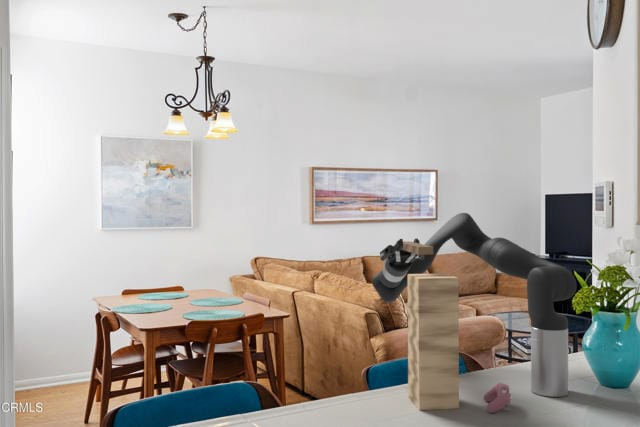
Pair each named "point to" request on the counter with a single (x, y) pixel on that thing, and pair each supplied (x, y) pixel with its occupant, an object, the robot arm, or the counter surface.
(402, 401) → the counter surface
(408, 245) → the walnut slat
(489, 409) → the pink curved piece
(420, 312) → the wooden block tower
